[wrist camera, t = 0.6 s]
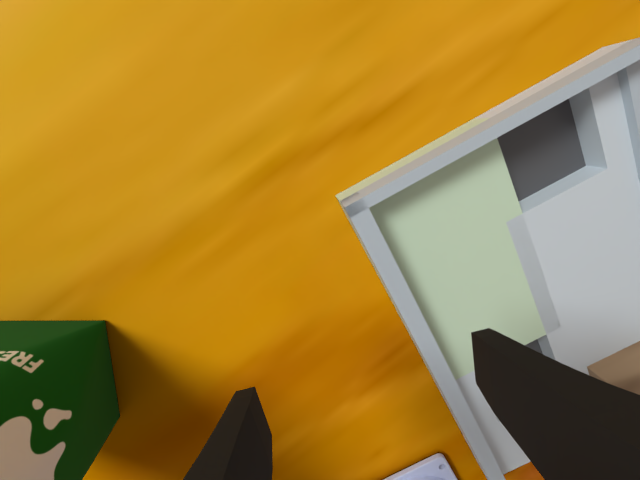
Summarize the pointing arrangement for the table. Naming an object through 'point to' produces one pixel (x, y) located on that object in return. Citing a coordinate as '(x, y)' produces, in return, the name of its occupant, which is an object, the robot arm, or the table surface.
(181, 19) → the table surface
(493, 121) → the tray
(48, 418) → the milk carton
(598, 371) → the walnut block
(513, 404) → the robot arm
